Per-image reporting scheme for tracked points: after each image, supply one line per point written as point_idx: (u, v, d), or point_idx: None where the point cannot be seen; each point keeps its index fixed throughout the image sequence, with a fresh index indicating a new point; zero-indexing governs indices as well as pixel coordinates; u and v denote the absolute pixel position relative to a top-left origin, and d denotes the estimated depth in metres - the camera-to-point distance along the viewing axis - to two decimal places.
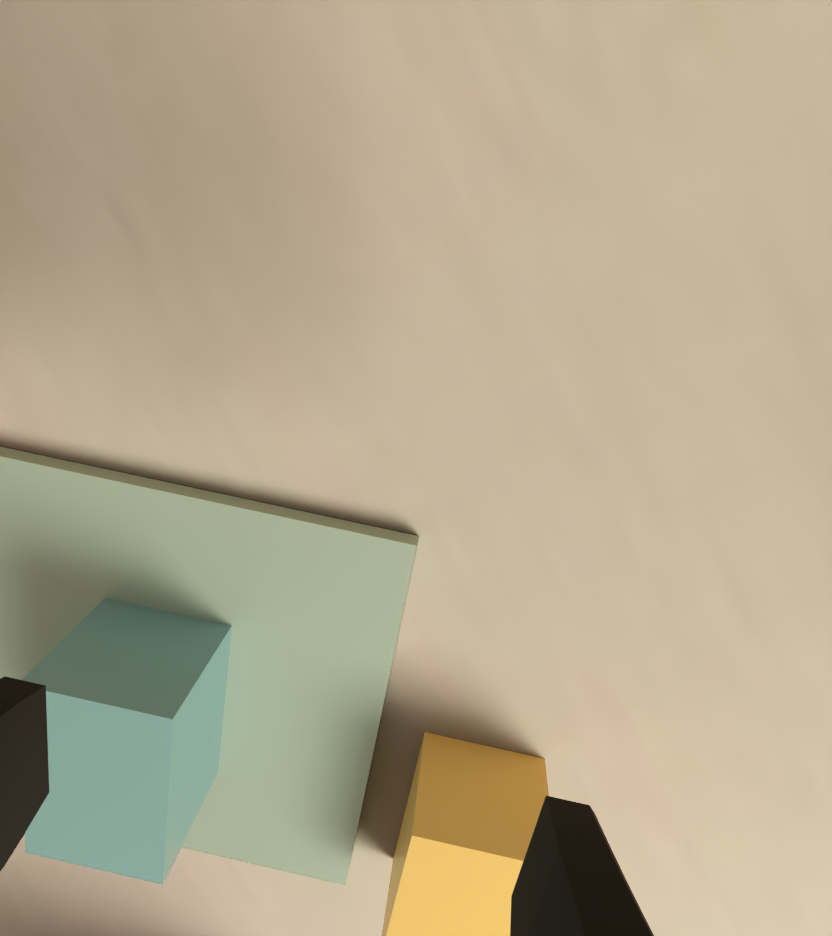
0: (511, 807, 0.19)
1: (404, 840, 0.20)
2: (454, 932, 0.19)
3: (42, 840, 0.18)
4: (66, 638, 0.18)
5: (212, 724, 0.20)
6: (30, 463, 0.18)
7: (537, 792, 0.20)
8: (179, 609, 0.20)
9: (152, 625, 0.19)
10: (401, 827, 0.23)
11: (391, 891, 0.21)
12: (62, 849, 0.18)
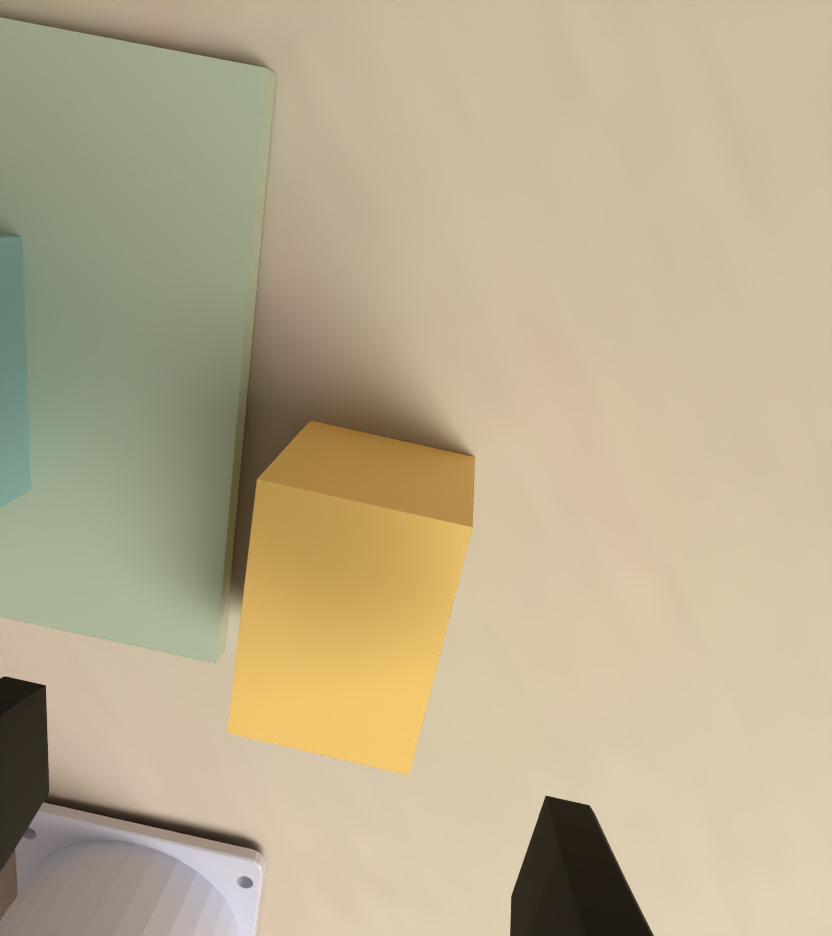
0: (416, 479, 0.13)
1: None
2: (330, 652, 0.13)
3: None
4: None
5: None
6: None
7: (458, 475, 0.14)
8: None
9: None
10: None
11: None
12: None
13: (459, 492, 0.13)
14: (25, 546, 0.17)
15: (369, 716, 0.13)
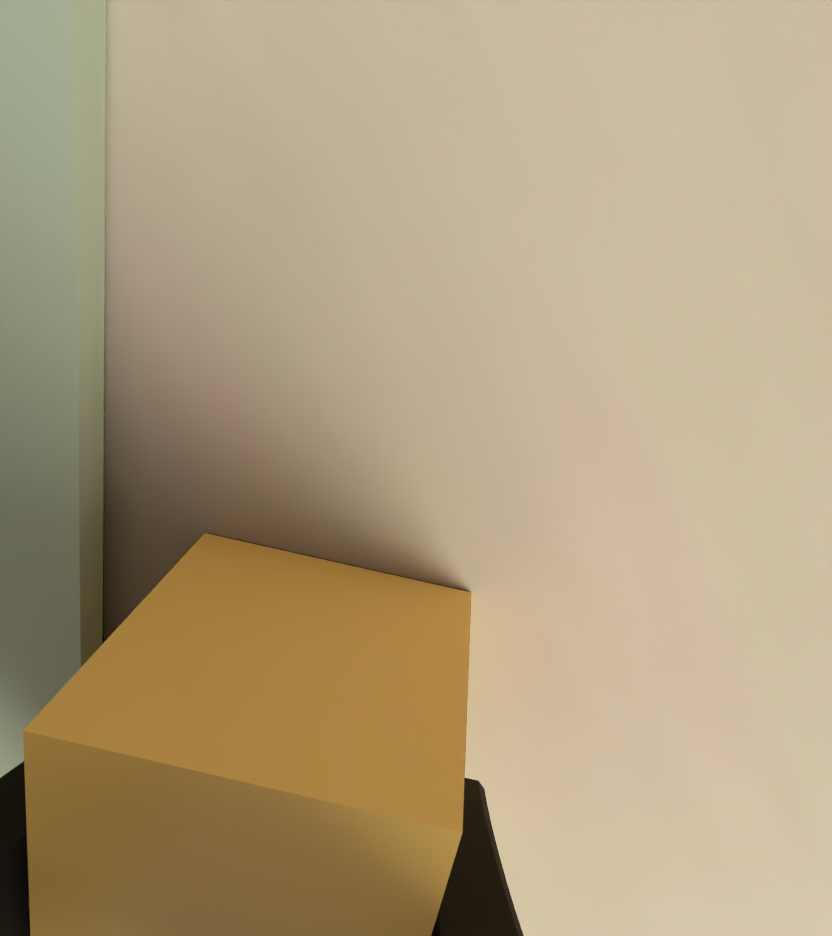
0: (362, 679, 0.07)
1: None
2: None
3: None
4: None
5: None
6: None
7: (441, 654, 0.08)
8: None
9: None
10: None
11: None
12: None
13: (440, 706, 0.07)
14: None
15: None
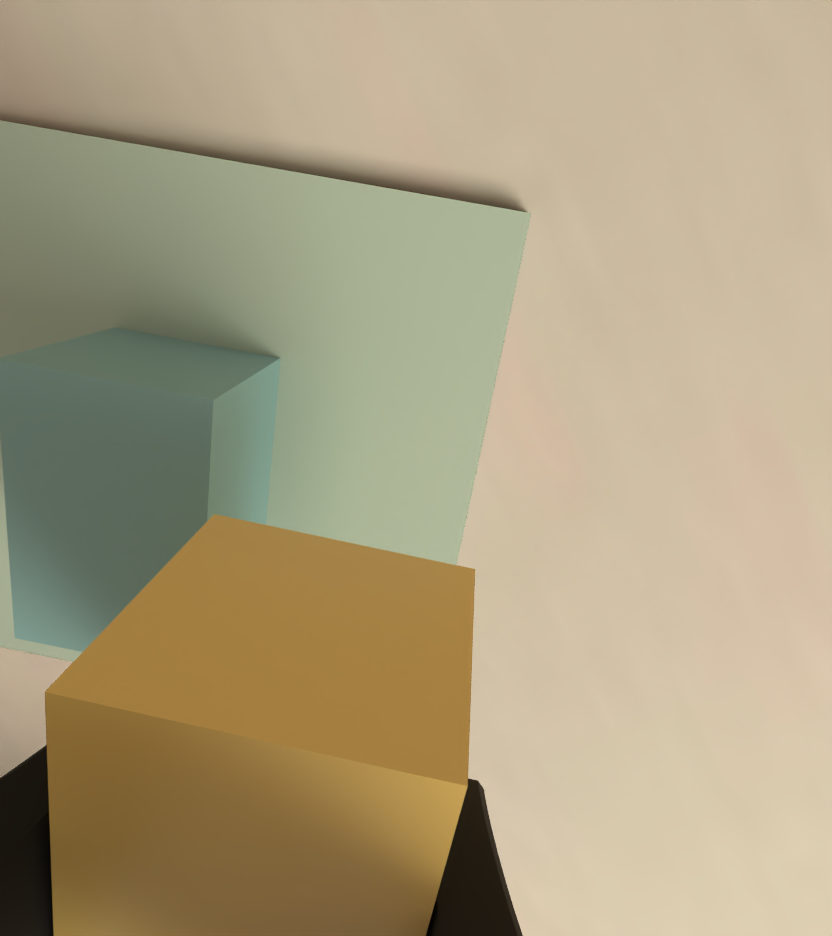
0: (369, 647, 0.07)
1: None
2: None
3: (36, 616, 0.13)
4: (64, 342, 0.13)
5: (257, 490, 0.15)
6: (14, 124, 0.14)
7: (446, 625, 0.08)
8: (211, 338, 0.15)
9: (178, 347, 0.14)
10: None
11: None
12: (63, 629, 0.13)
13: (445, 673, 0.07)
14: None
15: None
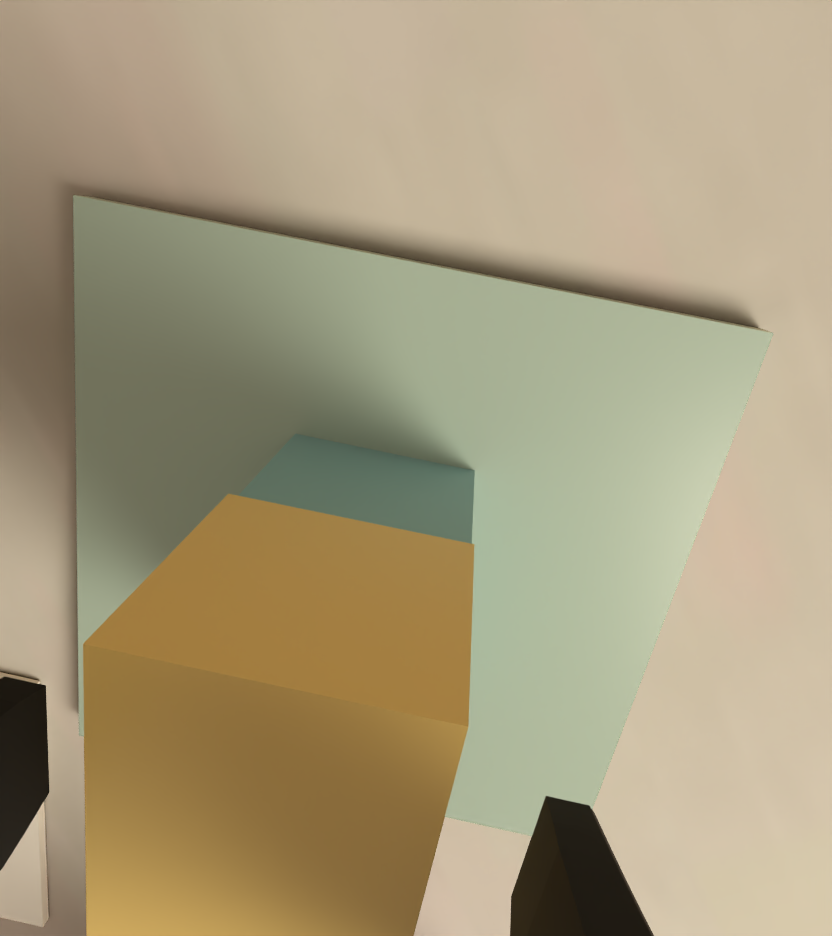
0: (376, 610, 0.08)
1: None
2: (236, 906, 0.08)
3: None
4: (268, 466, 0.12)
5: None
6: (207, 223, 0.13)
7: (447, 592, 0.09)
8: (400, 448, 0.14)
9: (373, 463, 0.13)
10: None
11: None
12: None
13: (447, 632, 0.08)
14: None
15: None
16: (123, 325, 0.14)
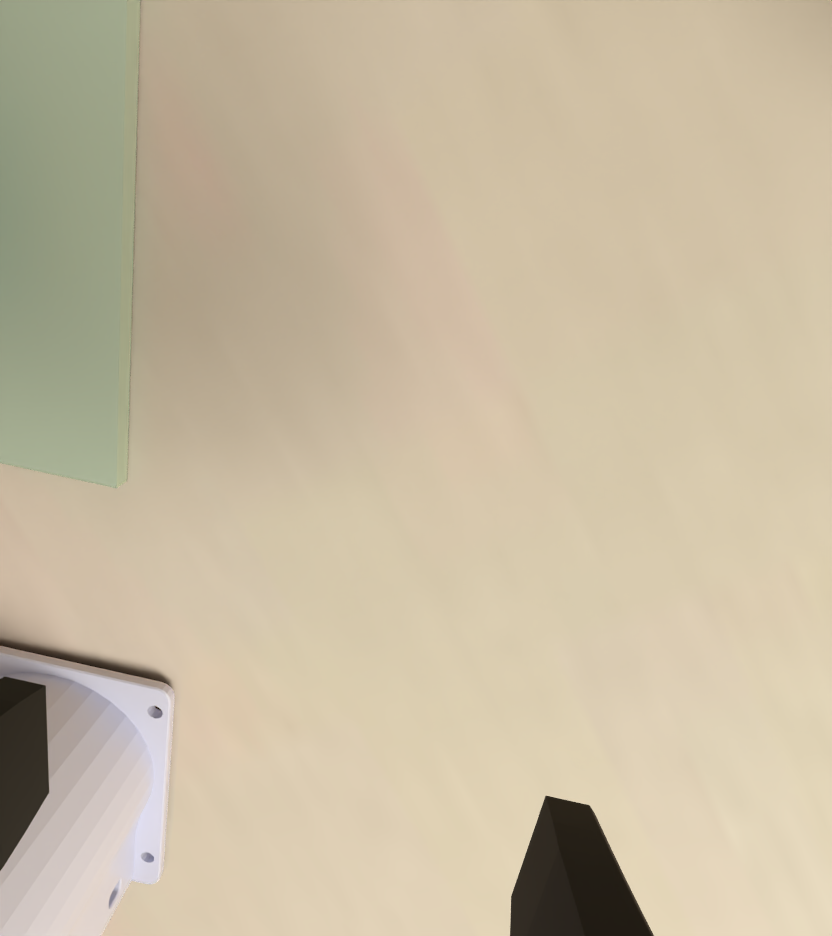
0: None
1: None
2: None
3: None
4: None
5: None
6: None
7: None
8: None
9: None
10: None
11: None
12: None
13: None
14: None
15: None
16: None
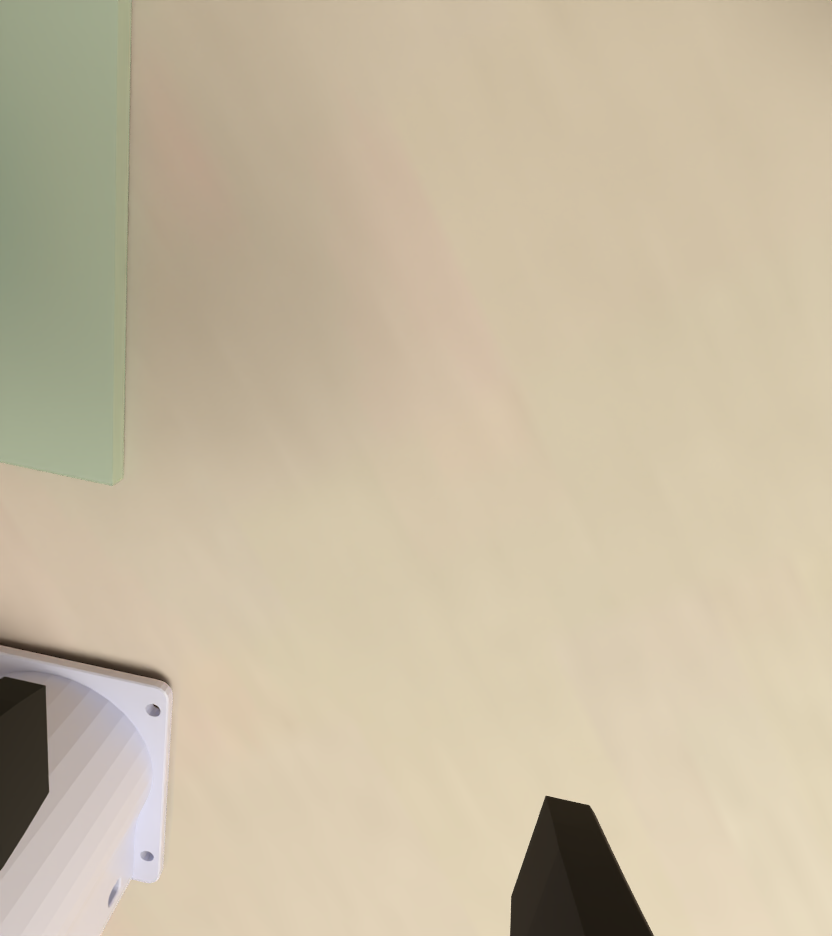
0: None
1: None
2: None
3: None
4: None
5: None
6: None
7: None
8: None
9: None
10: None
11: None
12: None
13: None
14: None
15: None
16: None
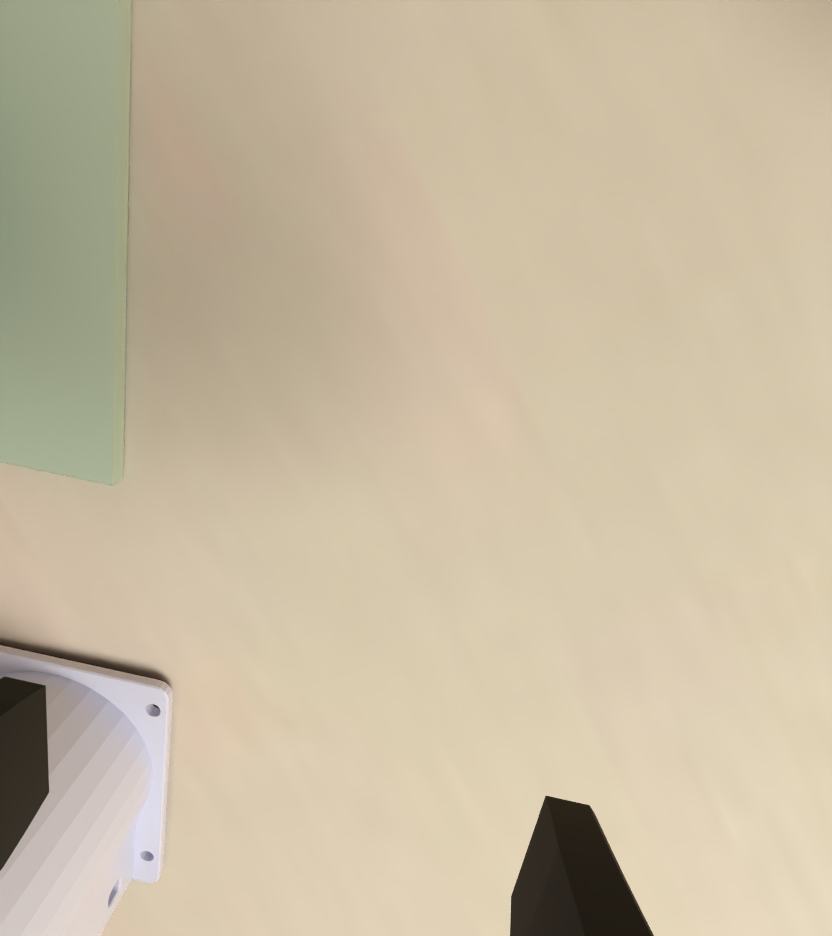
0: None
1: None
2: None
3: None
4: None
5: None
6: None
7: None
8: None
9: None
10: None
11: None
12: None
13: None
14: None
15: None
16: None
